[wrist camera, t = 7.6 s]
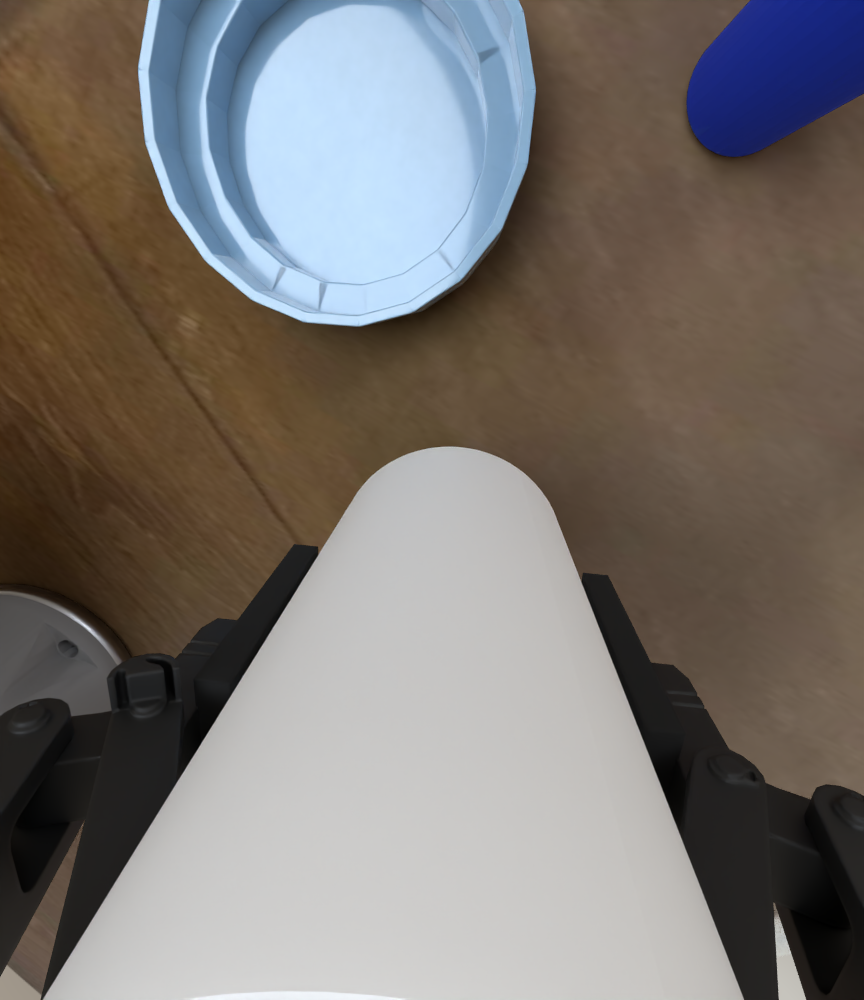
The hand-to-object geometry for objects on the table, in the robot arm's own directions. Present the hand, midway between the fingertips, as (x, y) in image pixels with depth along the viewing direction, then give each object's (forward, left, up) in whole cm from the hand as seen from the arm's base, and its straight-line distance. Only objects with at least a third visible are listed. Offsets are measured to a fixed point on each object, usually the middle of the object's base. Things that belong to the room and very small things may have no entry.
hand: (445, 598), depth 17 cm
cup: (0, 0, -3) cm, 3 cm away
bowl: (-7, +16, -16) cm, 24 cm away
